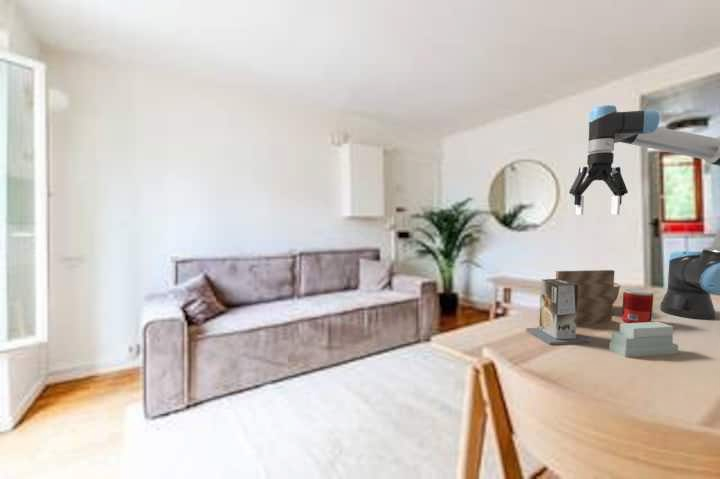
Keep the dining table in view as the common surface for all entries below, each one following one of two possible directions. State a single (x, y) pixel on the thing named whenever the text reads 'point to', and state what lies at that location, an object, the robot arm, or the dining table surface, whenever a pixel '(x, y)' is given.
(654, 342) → the offcut stack
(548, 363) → the dining table surface
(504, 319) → the dining table surface
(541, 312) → the coffee box
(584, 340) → the mat
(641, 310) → the canned food
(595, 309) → the upright wooden block
